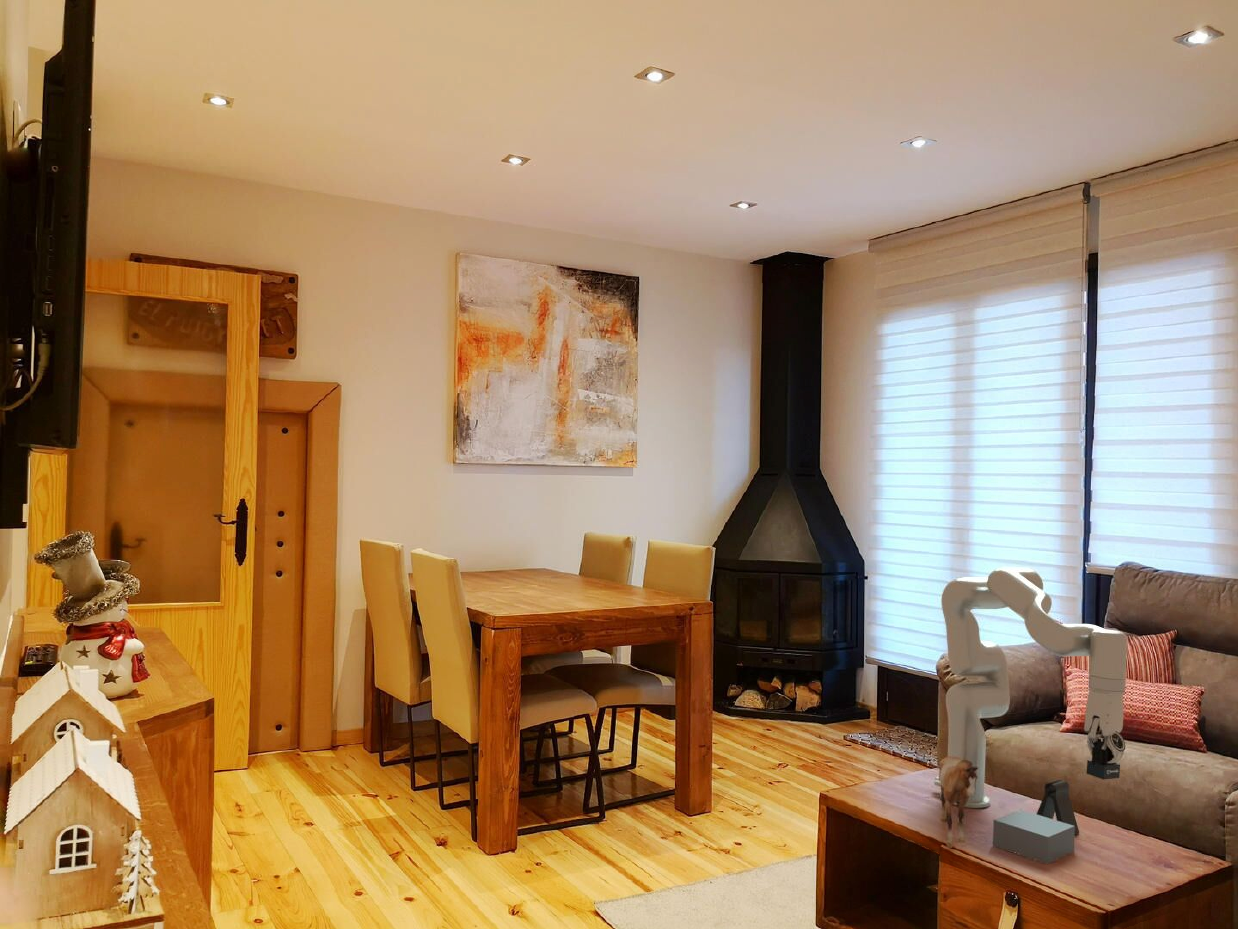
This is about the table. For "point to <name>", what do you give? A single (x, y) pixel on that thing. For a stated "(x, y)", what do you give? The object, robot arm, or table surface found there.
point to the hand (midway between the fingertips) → (1103, 763)
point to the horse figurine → (956, 790)
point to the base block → (1033, 836)
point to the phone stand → (1058, 804)
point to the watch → (1112, 768)
